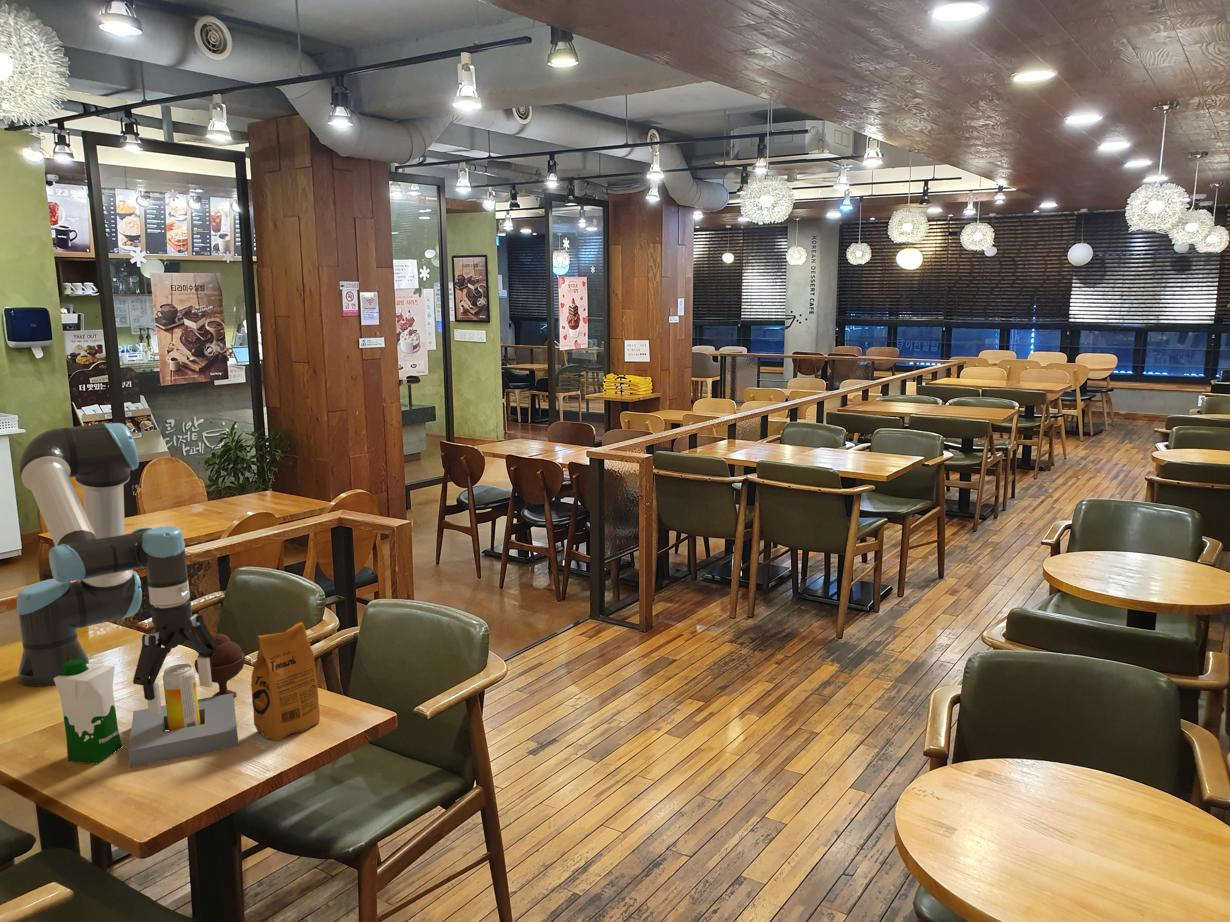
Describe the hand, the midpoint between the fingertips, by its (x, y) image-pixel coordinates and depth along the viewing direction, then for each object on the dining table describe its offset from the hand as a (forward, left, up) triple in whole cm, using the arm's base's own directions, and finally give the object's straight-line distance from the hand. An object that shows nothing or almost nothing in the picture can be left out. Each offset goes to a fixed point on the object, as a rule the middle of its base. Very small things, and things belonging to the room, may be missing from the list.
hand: (181, 699), depth 195 cm
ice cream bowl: (-17, +8, -8) cm, 21 cm away
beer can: (0, 0, -8) cm, 8 cm away
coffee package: (+6, +20, -8) cm, 23 cm away
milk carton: (+1, -17, -8) cm, 19 cm away
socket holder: (0, 0, -8) cm, 8 cm away
